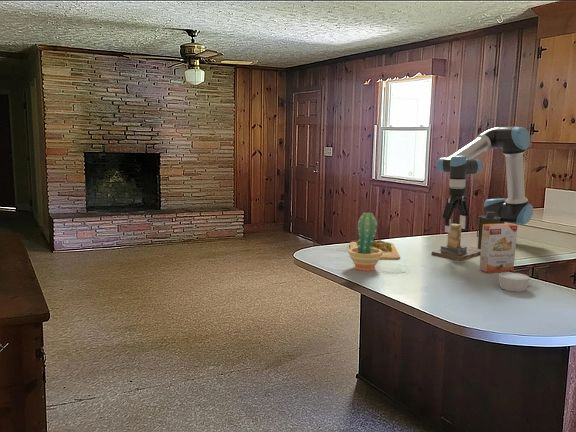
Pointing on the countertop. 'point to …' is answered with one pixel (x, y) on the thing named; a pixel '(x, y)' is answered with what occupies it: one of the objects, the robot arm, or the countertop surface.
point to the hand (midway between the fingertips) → (455, 230)
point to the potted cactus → (366, 244)
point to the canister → (486, 220)
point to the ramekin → (513, 281)
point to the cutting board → (386, 247)
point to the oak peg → (454, 236)
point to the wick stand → (457, 252)
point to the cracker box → (498, 247)
